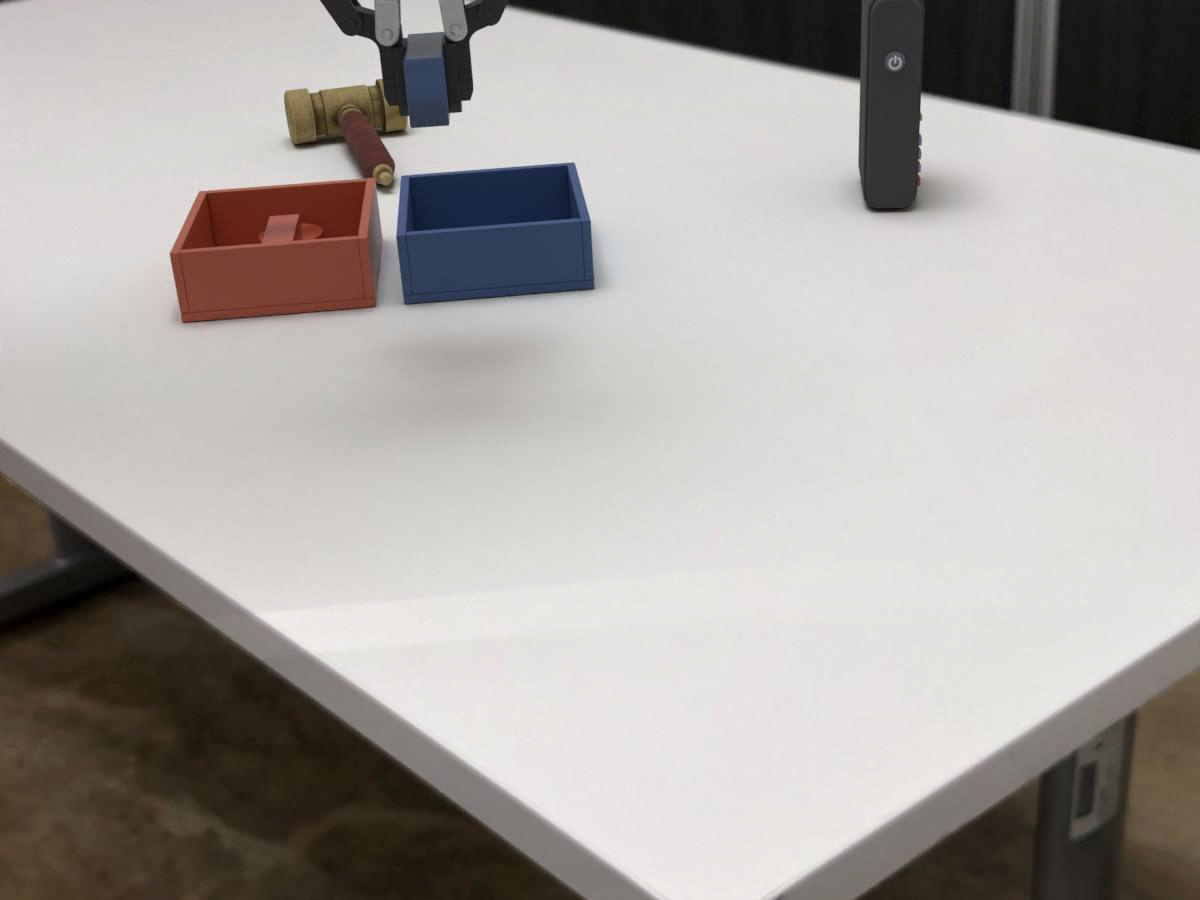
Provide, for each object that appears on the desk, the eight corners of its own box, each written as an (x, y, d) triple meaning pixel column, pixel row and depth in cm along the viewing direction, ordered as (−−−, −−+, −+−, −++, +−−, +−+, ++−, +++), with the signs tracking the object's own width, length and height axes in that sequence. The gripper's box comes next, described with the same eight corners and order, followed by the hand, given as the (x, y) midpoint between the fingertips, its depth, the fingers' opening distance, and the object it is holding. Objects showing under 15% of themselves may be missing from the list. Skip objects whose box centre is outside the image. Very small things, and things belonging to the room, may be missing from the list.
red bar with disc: (318, 295, 100) (310, 242, 99) (248, 300, 100) (240, 248, 99) (328, 242, 110) (321, 194, 108) (264, 247, 109) (257, 199, 108)
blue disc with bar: (473, 124, 80) (466, 55, 79) (386, 130, 80) (378, 61, 78) (472, 77, 90) (467, 15, 88) (395, 83, 89) (388, 20, 88)
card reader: (921, 212, 111) (930, -5, 104) (863, 214, 111) (868, -3, 104) (911, 174, 119) (918, -29, 112) (857, 176, 119) (861, -27, 112)
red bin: (182, 322, 99) (169, 253, 97) (209, 254, 111) (198, 191, 109) (375, 306, 100) (367, 237, 98) (382, 240, 111) (375, 177, 109)
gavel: (447, 143, 121) (318, 161, 119) (452, 199, 123) (326, 217, 121) (394, 70, 138) (281, 84, 136) (399, 120, 141) (288, 135, 138)
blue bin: (404, 304, 100) (396, 235, 98) (407, 238, 112) (400, 175, 110) (594, 288, 100) (590, 219, 98) (578, 224, 112) (574, 162, 110)
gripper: (534, -258, 79) (557, 85, 87) (259, -241, 78) (307, 103, 86) (540, -252, 72) (564, 120, 80) (239, -233, 72) (292, 139, 79)
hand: (430, 109), depth 83 cm, fingers closed on blue disc with bar, 2 cm apart
